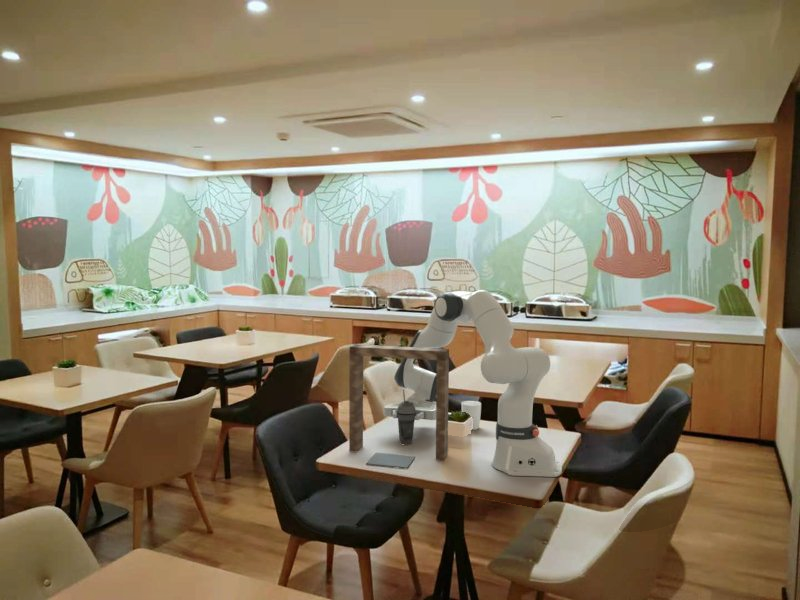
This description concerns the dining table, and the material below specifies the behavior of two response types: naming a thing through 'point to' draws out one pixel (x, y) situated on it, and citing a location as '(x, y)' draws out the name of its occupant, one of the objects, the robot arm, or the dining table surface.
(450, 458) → the dining table surface
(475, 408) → the white cup
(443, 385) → the walnut archway
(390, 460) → the slate mat
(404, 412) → the beverage cup
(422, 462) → the dining table surface
